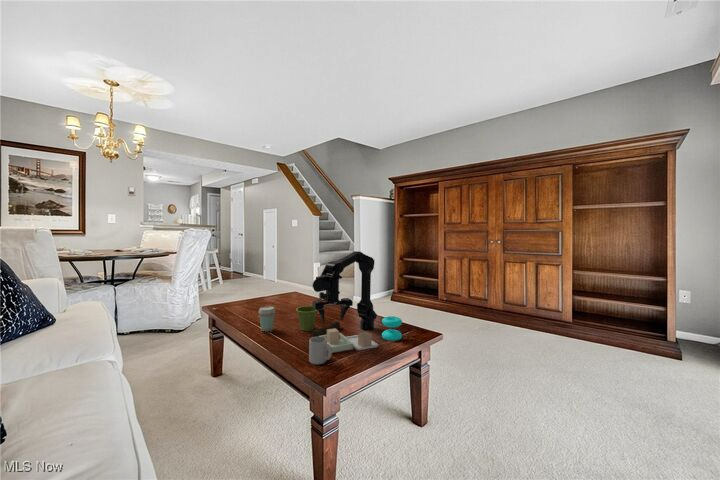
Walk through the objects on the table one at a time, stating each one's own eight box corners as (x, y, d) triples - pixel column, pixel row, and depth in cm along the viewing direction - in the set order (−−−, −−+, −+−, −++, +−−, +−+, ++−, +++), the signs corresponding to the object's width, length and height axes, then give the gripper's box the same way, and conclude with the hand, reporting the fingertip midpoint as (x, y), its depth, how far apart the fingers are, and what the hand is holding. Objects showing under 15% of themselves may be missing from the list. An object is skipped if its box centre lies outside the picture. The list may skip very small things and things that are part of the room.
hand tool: (316, 339, 151) (316, 330, 151) (311, 337, 153) (311, 328, 153) (343, 330, 165) (343, 321, 165) (338, 328, 168) (338, 320, 167)
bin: (340, 338, 152) (340, 332, 151) (353, 350, 138) (353, 343, 137) (318, 342, 147) (319, 335, 147) (330, 354, 133) (330, 347, 133)
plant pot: (291, 331, 162) (291, 310, 161) (303, 324, 173) (304, 305, 172) (310, 334, 157) (311, 312, 157) (322, 327, 168) (322, 307, 168)
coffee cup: (277, 328, 166) (277, 306, 166) (271, 333, 158) (271, 310, 157) (262, 327, 167) (262, 305, 167) (255, 332, 159) (255, 309, 158)
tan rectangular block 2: (365, 343, 145) (366, 331, 144) (371, 346, 141) (371, 334, 141) (358, 345, 142) (358, 333, 142) (363, 348, 138) (363, 336, 138)
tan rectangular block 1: (335, 339, 149) (335, 328, 148) (338, 342, 145) (338, 331, 144) (326, 340, 147) (326, 329, 147) (329, 344, 143) (330, 332, 142)
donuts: (390, 314, 160) (406, 318, 153) (389, 333, 160) (405, 338, 154) (378, 318, 153) (394, 322, 146) (377, 338, 153) (393, 343, 146)
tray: (363, 336, 155) (363, 334, 155) (378, 347, 141) (378, 345, 141) (343, 339, 150) (343, 337, 150) (357, 351, 136) (357, 348, 136)
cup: (315, 356, 131) (315, 335, 130) (335, 360, 127) (336, 339, 126) (305, 362, 124) (305, 341, 124) (326, 367, 120) (326, 345, 120)
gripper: (344, 284, 156) (343, 314, 157) (308, 287, 148) (308, 319, 148) (353, 288, 146) (352, 320, 147) (315, 291, 138) (315, 325, 138)
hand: (332, 321), depth 145 cm, fingers open, 9 cm apart
